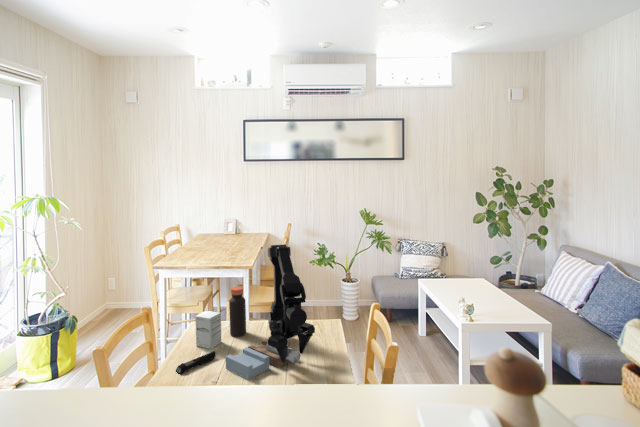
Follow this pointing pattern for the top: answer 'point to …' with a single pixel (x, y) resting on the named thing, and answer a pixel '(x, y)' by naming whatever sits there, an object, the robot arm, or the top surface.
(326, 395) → the top surface
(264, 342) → the beam
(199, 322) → the supplement box
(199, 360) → the electric trimmer
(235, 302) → the bottle
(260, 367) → the cradle
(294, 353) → the axle
